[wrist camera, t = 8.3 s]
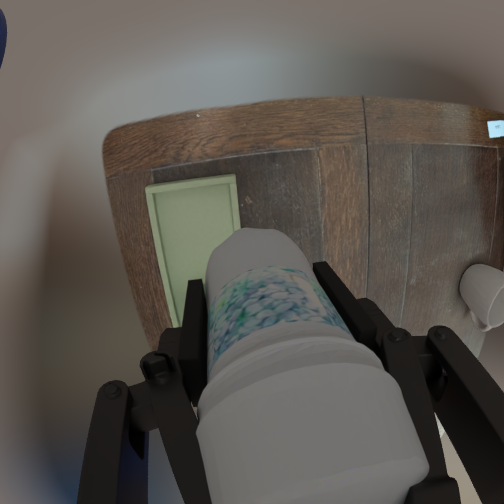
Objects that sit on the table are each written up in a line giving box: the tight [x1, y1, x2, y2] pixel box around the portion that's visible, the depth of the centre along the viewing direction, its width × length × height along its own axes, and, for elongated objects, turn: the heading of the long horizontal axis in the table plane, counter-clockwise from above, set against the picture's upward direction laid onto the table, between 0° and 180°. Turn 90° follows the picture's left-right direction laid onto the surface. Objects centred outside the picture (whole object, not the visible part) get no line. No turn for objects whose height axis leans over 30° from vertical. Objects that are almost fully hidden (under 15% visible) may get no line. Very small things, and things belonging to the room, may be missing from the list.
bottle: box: [196, 228, 429, 504], centre depth 12 cm, size 7×7×20 cm
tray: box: [145, 174, 241, 328], centre depth 42 cm, size 34×11×2 cm, turn 5°
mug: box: [460, 264, 504, 331], centre depth 43 cm, size 13×9×10 cm
